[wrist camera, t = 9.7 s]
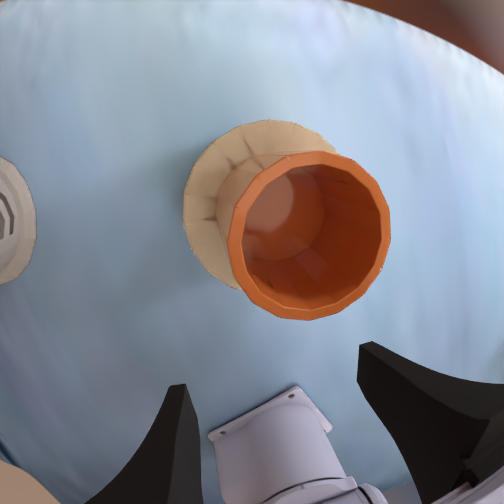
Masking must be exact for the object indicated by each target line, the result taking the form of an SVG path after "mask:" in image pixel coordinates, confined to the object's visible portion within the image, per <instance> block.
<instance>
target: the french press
mask: <svg viewBox="0 0 504 504" xmlns="http://www.w3.org/2000/svg"><path fill="white" fill-rule="evenodd" d="M35 241H36V210H35V207H34V204H33V201H32V198H31V194H30V191H29V188H28V184H27V183H26V181H25V180H24V179H23V177H22V176H21V175H20V173H19V172H18V170H17V169H16V167H15V166H14V165H13V164H12V163H10V162H8V161H6V160H5V159H3V158H1V157H0V284H3V283H6V282H8V281H11V280H13V279H16V278H17V277H18V276H19V275H20V273H21V272H22V271H23V270H24V268H25V267H26V266H27V264H28V263H29V262H30V258H31V255H32V251H33V248H34V244H35Z"/></svg>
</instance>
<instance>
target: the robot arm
mask: <svg viewBox="0 0 504 504" xmlns="http://www.w3.org/2000/svg"><path fill="white" fill-rule="evenodd" d="M357 382H358V384H359V386H360V389H361V391H362V393H363V394H364V396H365V398H366V400H367V401H368V403H369V404H370V406H371V407H372V409H373V410H374V412H375V413H376V414H377V416H378V417H379V419H380V420H381V421H382V423H383V424H384V426H385V427H386V429H387V430H388V431H389V433H390V434H391V436H392V438H393V439H394V441H395V443H396V445H397V446H398V448H399V450H400V452H401V454H402V456H403V458H404V460H405V462H406V465H407V467H408V469H409V471H410V473H411V476H412V478H413V480H414V483H415V485H416V488H417V490H418V493H419V496H420V499H421V502H422V504H504V384H492V383H482V382H475V381H469V380H464V379H460V378H456V377H452V376H448V375H445V374H442V373H439V372H436V371H433V370H431V369H428V368H426V367H424V366H421V365H419V364H417V363H414V362H412V361H410V360H408V359H406V358H404V357H402V356H400V355H398V354H396V353H394V352H392V351H391V350H389V349H387V348H385V347H383V346H381V345H379V344H377V343H375V342H373V341H371V342H367V343H364V344H361V345H359V358H358V371H357ZM290 394H292V395H290ZM332 428H333V427H332V425H331V423H330V422H329V421H328V420H327V419H326V418H325V416H324V415H323V414H322V413H321V412H320V410H319V409H318V408H317V407H316V406H315V405H314V403H313V402H312V401H311V400H310V399H309V397H308V396H307V395H306V394H305V393H304V391H303V390H302V389H301V388H300V387H299V386H295V387H293V388H291V389H289V390H287V391H286V392H284V393H282V394H281V395H279V396H277V397H276V398H274V399H272V400H270V401H269V402H267V403H265V404H263V405H261V406H260V407H258V408H256V409H254V410H252V411H250V412H249V413H247V414H245V415H243V416H241V417H239V418H237V419H235V420H233V421H231V422H230V423H228V424H226V425H224V426H222V427H220V428H218V429H216V430H213V431H211V432H210V433H209V434H208V438H209V439H210V440H211V441H213V442H214V450H215V457H216V465H217V472H218V479H219V486H220V491H221V495H222V498H223V500H224V502H225V504H388V503H387V501H386V499H385V498H384V496H383V495H382V493H381V492H380V491H379V490H378V489H377V488H376V487H374V486H371V485H369V484H367V483H363V484H360V485H358V486H357V484H356V482H355V480H354V478H353V476H349V477H346V475H345V473H344V471H343V469H342V466H341V464H340V462H339V460H338V458H337V456H336V454H335V452H334V450H333V448H332V446H331V444H330V442H329V440H328V438H327V436H326V433H328V432H329V431H331V430H332ZM222 431H224V432H222ZM84 504H204V503H203V497H202V488H201V455H200V434H199V426H198V419H197V415H196V413H195V410H194V407H193V404H192V401H191V398H190V395H189V393H188V390H187V387H186V384H180V385H172V386H170V387H169V389H168V391H167V394H166V396H165V399H164V401H163V404H162V406H161V408H160V410H159V412H158V414H157V416H156V419H155V421H154V423H153V425H152V426H151V428H150V430H149V432H148V434H147V435H146V437H145V439H144V440H143V442H142V444H141V445H140V447H139V448H138V450H137V451H136V453H135V454H134V455H133V457H132V458H131V459H130V461H129V462H128V463H127V464H126V466H125V467H124V468H123V469H122V470H121V471H120V473H119V474H118V475H117V476H116V477H115V478H114V479H113V480H112V481H111V482H110V483H109V484H108V485H107V486H106V487H105V488H104V489H102V490H101V491H100V492H99V493H98V494H96V495H95V496H94V497H92V498H91V499H90V500H88V501H87V502H86V503H84Z"/></svg>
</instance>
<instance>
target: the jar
mask: <svg viewBox="0 0 504 504" xmlns="http://www.w3.org/2000/svg"><path fill="white" fill-rule="evenodd" d="M305 150H321V151H323V150H324V151H327V152H330V153H334V154H337V155H340V154H338V152H337V151H336V150H335V149H334V148H333V147H332V146H331V145H330V144H329V143H328V142H327V141H326V140H325V139H324V138H323V137H322V136H321V135H319V134H318V133H316V132H314V131H312V130H310V129H308V128H305V127H303V126H301V125H299V124H297V123H293V122H285V121H276V120H262V121H257V122H253V123H248V124H244V125H240V126H238V127H235V128H234V129H232V130H231V131H229V132H227V133H226V134H224V135H223V136H221V137H219V138H218V139H216V140H215V141H213V142H212V143H211V144H210V145H209V146H208V147H207V148H206V149H205V150H204V151H203V153H202V154H201V155H200V156H199V158H198V159H197V160H196V161H195V164H194V165H193V167H192V170H191V173H190V175H189V178H188V181H187V184H186V187H185V190H184V194H183V225H184V229H185V232H186V235H187V238H188V241H189V244H190V247H191V249H192V251H193V253H194V254H195V255H196V257H197V258H198V259H199V261H200V262H201V264H202V265H203V266H204V268H205V269H206V270H207V271H209V273H211V274H212V275H213V276H215V277H216V278H218V279H219V280H221V281H222V282H224V283H225V284H226V285H228V286H230V287H232V288H235V289H239V290H242V291H243V289H242V288H241V286H240V285H239V284H238V282H237V281H236V280H235V278H234V276H233V273H232V270H231V267H230V264H229V261H228V258H227V255H226V252H225V249H224V246H223V243H222V240H221V237H220V232H219V228H218V224H217V218H216V203H217V197H218V194H219V191H220V188H221V186H222V184H223V182H224V181H225V179H226V177H227V176H228V175H229V173H230V172H231V171H232V170H233V169H234V168H235V167H236V166H237V165H239V164H240V163H242V162H243V161H245V160H246V159H248V158H250V157H253V156H255V155H259V154H263V153H271V152H277V151H305Z"/></svg>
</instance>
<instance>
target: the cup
mask: <svg viewBox="0 0 504 504" xmlns="http://www.w3.org/2000/svg"><path fill="white" fill-rule="evenodd" d="M216 218H217V224H218V228H219V232H220V237H221V240H222V243H223V246H224V249H225V252H226V255H227V258H228V261H229V264H230V267H231V270H232V273H233V276H234V278H235V280H236V281H237V282H238V284H239V285H240V286H241V288H242V289H243V291H244V292H245V293H246V295H247V296H248V297H249V299H250V300H251V301H252V302H253V303H254V304H256V305H257V306H259V307H261V308H263V309H264V310H266V311H268V312H270V313H272V314H273V315H275V316H277V317H280V318H286V319H296V320H306V321H309V320H314V319H318V318H322V317H325V316H329V315H332V314H336V313H338V312H340V311H342V310H343V309H345V308H346V307H347V306H349V305H350V304H352V303H353V302H354V301H356V300H357V299H359V298H360V297H361V296H363V294H365V292H366V291H367V290H368V288H369V287H370V286H371V284H372V283H373V281H374V280H375V279H376V277H377V276H378V274H379V273H380V272H381V269H382V268H383V264H384V261H385V258H386V255H387V251H388V248H389V245H390V240H391V230H390V211H389V207H388V205H387V203H386V200H385V198H384V196H383V194H382V191H381V189H380V187H379V185H378V183H377V182H376V180H375V179H374V178H373V177H372V176H371V175H370V174H369V173H368V172H366V171H365V170H364V169H363V168H362V167H361V166H360V165H359V164H358V163H356V162H355V161H354V160H352V159H350V158H346V157H343V156H340V155H337V154H334V153H330V152H327V151H324V150H323V151H321V150H305V151H277V152H271V153H263V154H259V155H255V156H253V157H250V158H248V159H246V160H245V161H243V162H242V163H240V164H239V165H237V166H236V167H235V168H234V169H233V170H232V171H231V172H230V173H229V175H228V176H227V177H226V179H225V181H224V182H223V184H222V186H221V188H220V191H219V194H218V197H217V203H216Z"/></svg>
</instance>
